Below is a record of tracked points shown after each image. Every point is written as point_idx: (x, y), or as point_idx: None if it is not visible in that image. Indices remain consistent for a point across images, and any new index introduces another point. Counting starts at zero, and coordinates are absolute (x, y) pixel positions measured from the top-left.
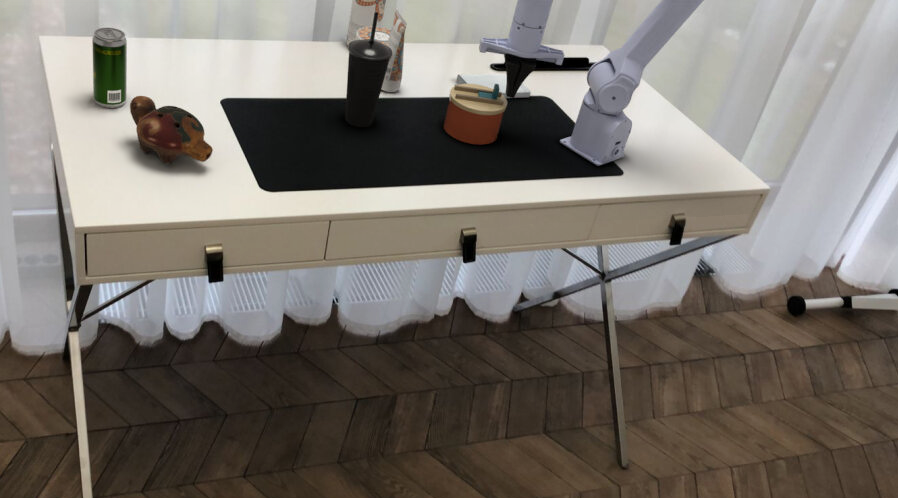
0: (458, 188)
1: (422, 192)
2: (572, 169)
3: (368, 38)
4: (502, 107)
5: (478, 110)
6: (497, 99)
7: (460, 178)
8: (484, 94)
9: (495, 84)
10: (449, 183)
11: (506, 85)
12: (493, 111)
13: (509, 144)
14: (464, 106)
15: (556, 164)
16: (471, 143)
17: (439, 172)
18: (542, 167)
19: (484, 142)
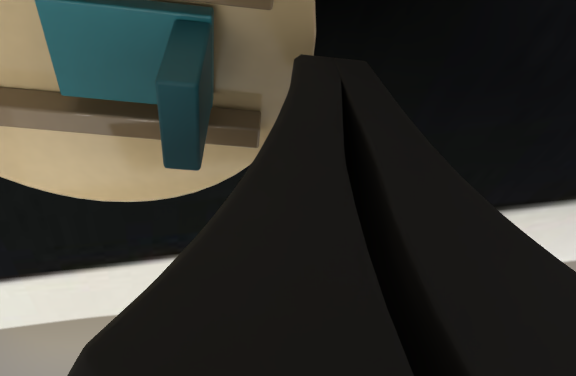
0: (116, 279)
1: (25, 297)
2: (545, 169)
3: None
4: (251, 151)
5: (88, 198)
6: (229, 49)
7: (117, 248)
8: (99, 47)
9: (161, 98)
10: (88, 267)
11: (290, 85)
12: (184, 192)
13: (343, 30)
14: None
15: (497, 149)
16: None
17: (48, 233)
18: None
19: None
